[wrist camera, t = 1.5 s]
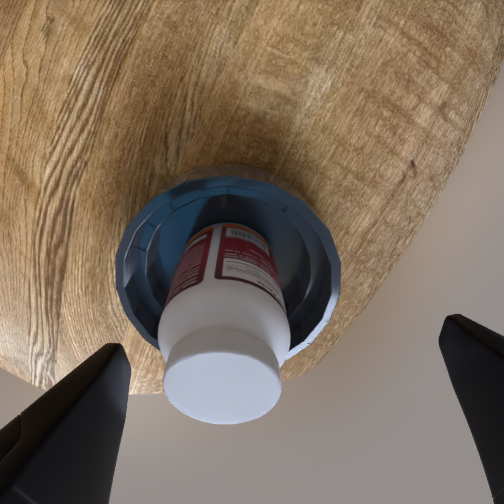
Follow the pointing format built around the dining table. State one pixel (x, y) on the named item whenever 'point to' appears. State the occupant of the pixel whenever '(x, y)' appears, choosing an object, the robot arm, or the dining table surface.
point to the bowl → (230, 211)
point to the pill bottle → (224, 327)
